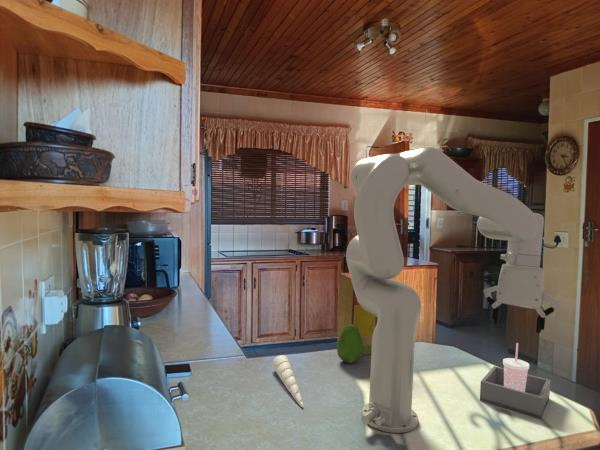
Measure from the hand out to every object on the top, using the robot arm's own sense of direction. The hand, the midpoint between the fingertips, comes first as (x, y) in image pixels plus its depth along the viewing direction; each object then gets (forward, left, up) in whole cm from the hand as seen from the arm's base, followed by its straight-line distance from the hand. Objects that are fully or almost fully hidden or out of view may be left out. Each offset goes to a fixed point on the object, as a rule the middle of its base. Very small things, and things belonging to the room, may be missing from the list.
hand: (517, 327), depth 105 cm
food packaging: (+5, +50, -19) cm, 53 cm away
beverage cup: (0, 0, -18) cm, 18 cm away
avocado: (-7, +45, -19) cm, 49 cm away
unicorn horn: (-33, +47, -19) cm, 61 cm away
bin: (+1, 0, -19) cm, 19 cm away
